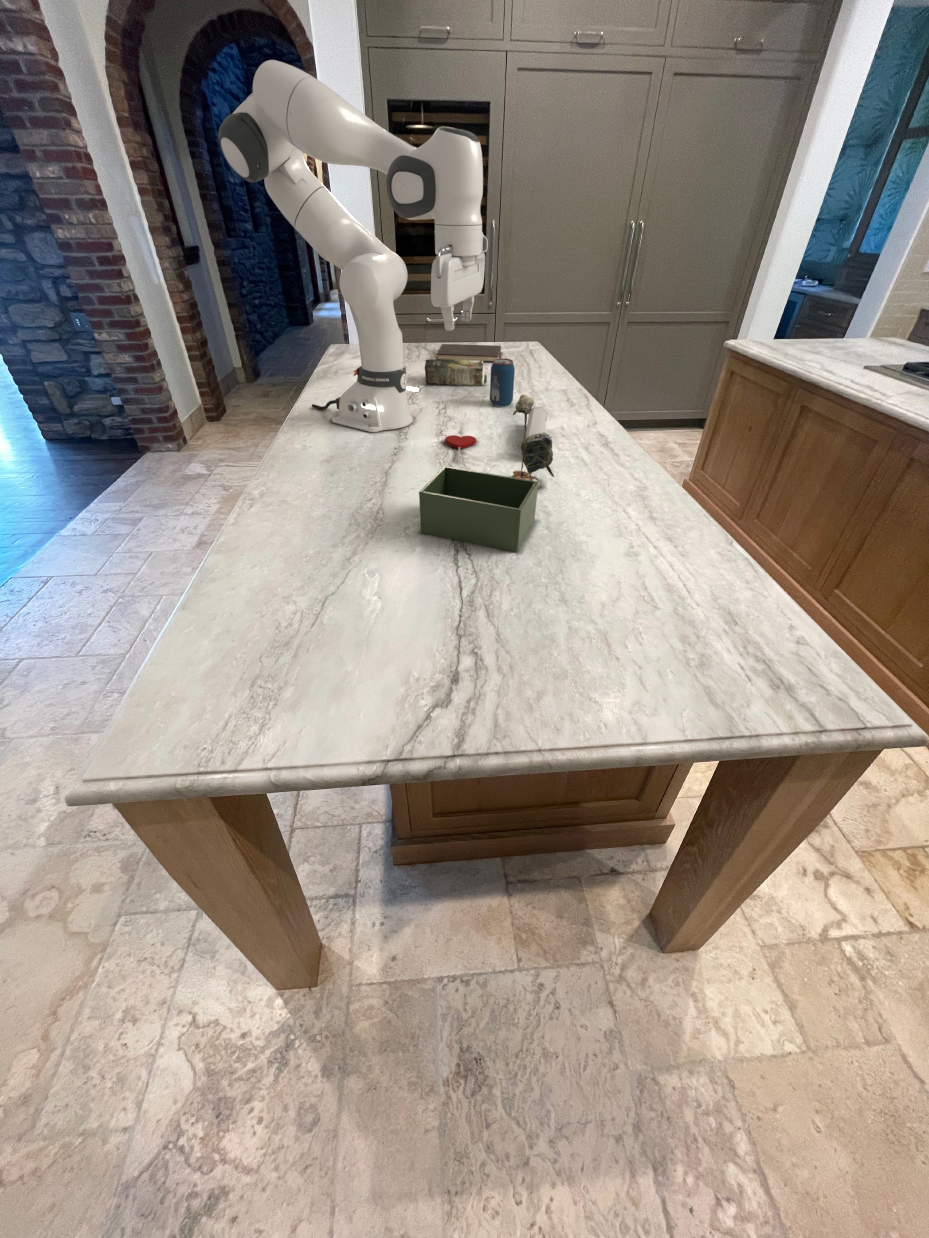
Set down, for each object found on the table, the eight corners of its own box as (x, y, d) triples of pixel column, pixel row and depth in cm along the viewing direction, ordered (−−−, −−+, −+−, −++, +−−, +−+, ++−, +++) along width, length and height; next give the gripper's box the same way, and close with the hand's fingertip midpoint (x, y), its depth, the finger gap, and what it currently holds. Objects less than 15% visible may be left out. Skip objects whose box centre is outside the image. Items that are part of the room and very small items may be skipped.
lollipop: (474, 462, 127) (476, 439, 139) (474, 459, 127) (476, 435, 138) (440, 461, 128) (445, 438, 139) (440, 458, 127) (445, 434, 139)
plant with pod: (551, 496, 115) (563, 400, 102) (498, 491, 116) (504, 396, 103) (553, 480, 121) (565, 387, 108) (504, 475, 122) (509, 383, 110)
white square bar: (546, 447, 125) (551, 410, 144) (525, 438, 125) (532, 403, 144) (536, 466, 129) (542, 428, 148) (516, 458, 128) (524, 421, 147)
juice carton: (485, 377, 182) (485, 357, 178) (486, 386, 175) (487, 366, 171) (426, 377, 182) (425, 358, 178) (425, 386, 175) (424, 366, 171)
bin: (420, 532, 102) (418, 491, 97) (444, 504, 111) (444, 465, 106) (517, 552, 97) (520, 510, 92) (534, 521, 106) (538, 481, 101)
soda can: (512, 400, 164) (515, 358, 156) (512, 408, 158) (514, 364, 151) (490, 399, 164) (491, 357, 156) (488, 407, 159) (490, 363, 151)
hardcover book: (498, 362, 197) (498, 355, 196) (436, 360, 199) (436, 353, 197) (500, 351, 209) (500, 345, 208) (442, 349, 211) (442, 343, 210)
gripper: (454, 249, 93) (454, 337, 102) (490, 239, 108) (488, 317, 116) (420, 247, 94) (423, 334, 103) (461, 238, 109) (461, 315, 118)
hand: (458, 325), depth 110 cm, fingers open, 8 cm apart
